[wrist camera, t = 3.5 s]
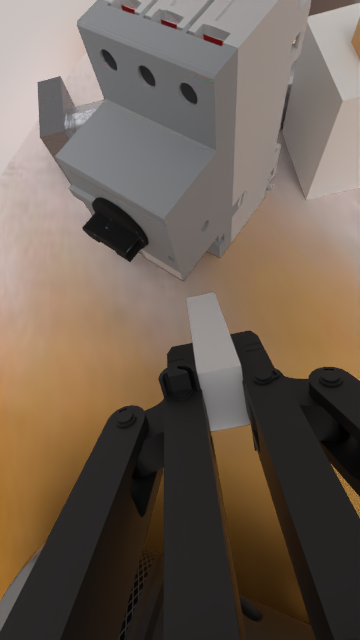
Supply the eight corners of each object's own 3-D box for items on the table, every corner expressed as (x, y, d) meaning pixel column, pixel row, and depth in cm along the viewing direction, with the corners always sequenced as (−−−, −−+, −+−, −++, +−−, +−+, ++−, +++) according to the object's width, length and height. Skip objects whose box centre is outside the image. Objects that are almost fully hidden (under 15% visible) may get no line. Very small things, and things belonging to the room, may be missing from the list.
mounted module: (337, 119, 29) (394, -33, 19) (366, 186, 27) (448, 52, 17) (282, 132, 30) (310, -10, 20) (305, 200, 27) (351, 76, 17)
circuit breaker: (106, 271, 28) (-17, 116, 14) (201, 152, 30) (181, -86, 16) (176, 317, 26) (116, 192, 12) (272, 186, 28) (322, -52, 14)
